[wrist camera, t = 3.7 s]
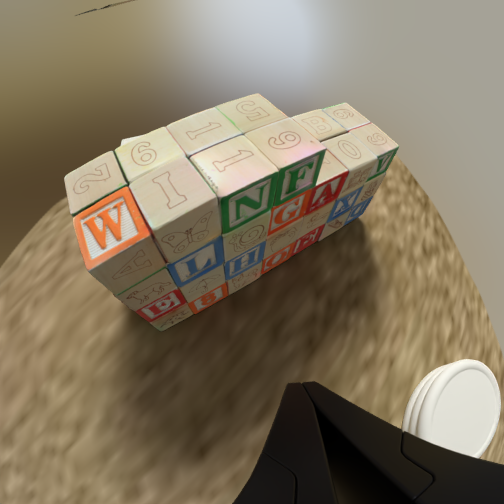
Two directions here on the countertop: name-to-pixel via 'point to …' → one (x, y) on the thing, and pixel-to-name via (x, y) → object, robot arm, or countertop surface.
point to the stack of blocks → (220, 201)
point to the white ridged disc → (455, 407)
